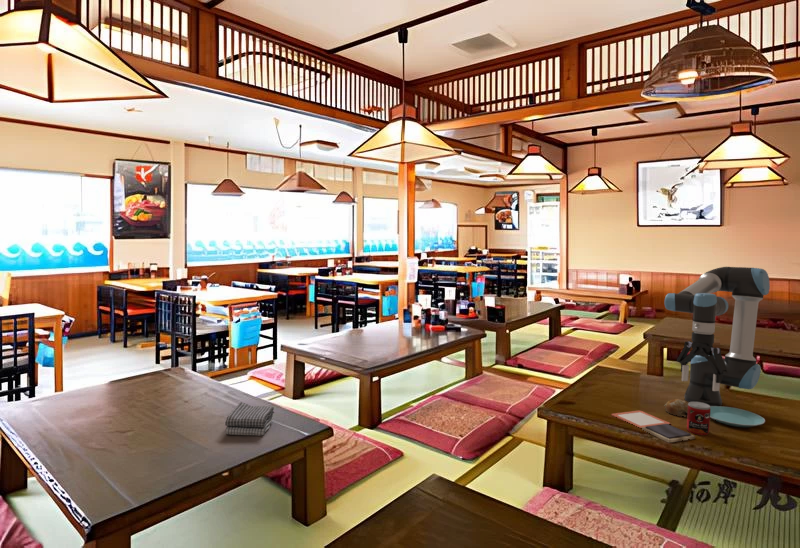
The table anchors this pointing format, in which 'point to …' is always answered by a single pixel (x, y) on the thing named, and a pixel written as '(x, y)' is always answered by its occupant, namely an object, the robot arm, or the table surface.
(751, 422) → the plate
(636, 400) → the table surface
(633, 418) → the print sheet
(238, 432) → the towel
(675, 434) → the ink pad
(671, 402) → the bread roll
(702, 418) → the canned food
